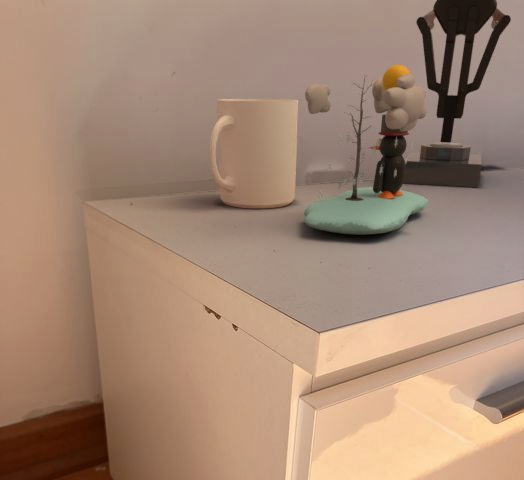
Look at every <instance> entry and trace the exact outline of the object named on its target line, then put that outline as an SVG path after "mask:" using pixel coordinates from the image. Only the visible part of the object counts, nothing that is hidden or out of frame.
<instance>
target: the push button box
mask: <svg viewBox="0 0 524 480" xmlns="http://www.w3.org/2000/svg"><path fill="white" fill-rule="evenodd" d="M431 143H432V142H430V143H422V144H420V151H419V152H418V151H417V152H416V151H412V152H411V153H410V154H409V155H408V156H406V157H405V159H406V160H407V163H406V165H405V172H404V181H403V184H411V185H412V184H413V185H414V184H415V185H429V186H448V187H464V188H479V185H480V180H481V179H480V178H481V174H482V169H483V168H482V167H483V159H482V154H471V148H472V146H471V145H468V144H461V147H436V146H431ZM405 159H404V161H406V160H405Z"/></svg>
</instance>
